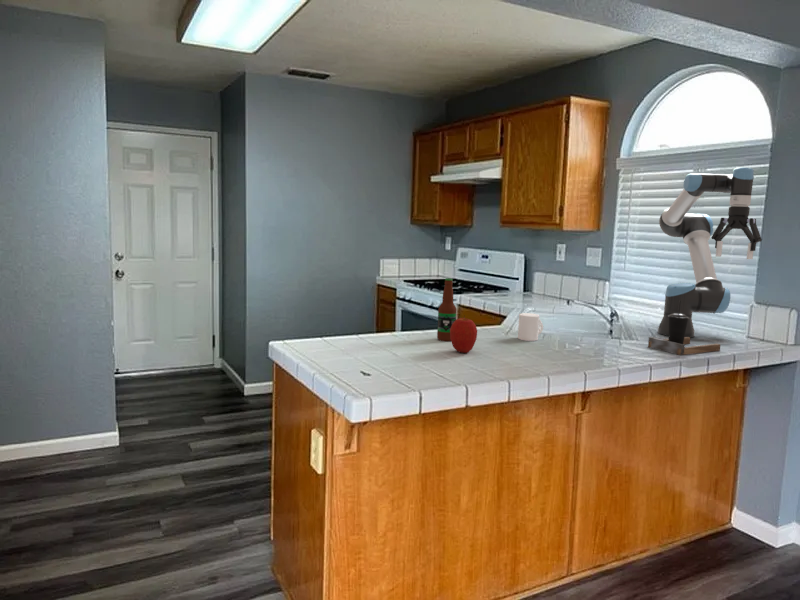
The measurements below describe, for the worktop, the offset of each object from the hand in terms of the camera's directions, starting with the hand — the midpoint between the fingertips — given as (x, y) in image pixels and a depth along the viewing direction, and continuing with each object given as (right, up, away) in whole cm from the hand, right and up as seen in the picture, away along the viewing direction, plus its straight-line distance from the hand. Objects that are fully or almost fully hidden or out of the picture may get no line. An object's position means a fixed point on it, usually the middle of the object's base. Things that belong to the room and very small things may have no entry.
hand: (733, 257), depth 248 cm
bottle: (-120, -34, -5) cm, 125 cm away
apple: (-116, -37, -26) cm, 124 cm away
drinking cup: (-28, -38, -9) cm, 48 cm away
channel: (-24, -37, -7) cm, 45 cm away
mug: (-84, -34, +3) cm, 90 cm away
